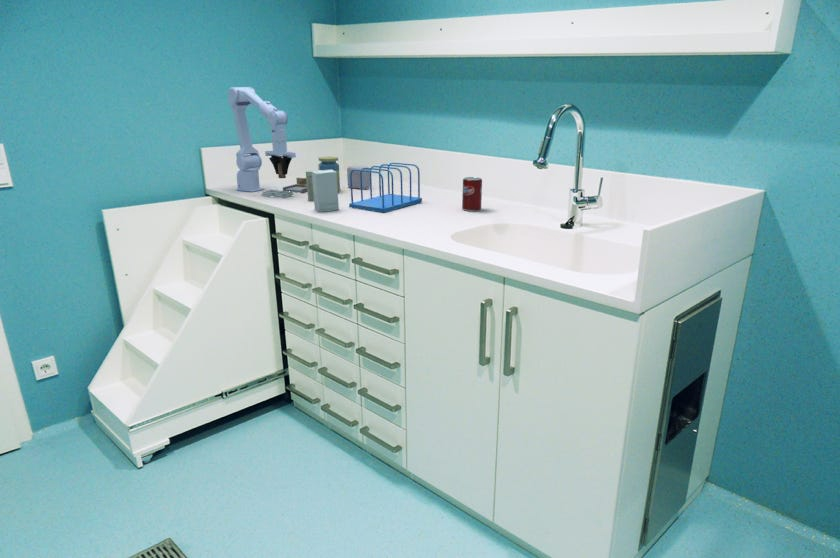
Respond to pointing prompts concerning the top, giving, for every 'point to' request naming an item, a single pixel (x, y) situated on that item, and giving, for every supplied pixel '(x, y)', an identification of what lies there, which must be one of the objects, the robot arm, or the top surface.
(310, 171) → the skincare box
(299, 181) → the cover
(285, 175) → the peg
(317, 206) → the skincare box
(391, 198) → the file sorter
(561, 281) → the top surface
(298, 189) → the pattern board
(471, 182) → the soda can
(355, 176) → the electronic device
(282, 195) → the socket board
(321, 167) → the jar
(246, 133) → the robot arm
